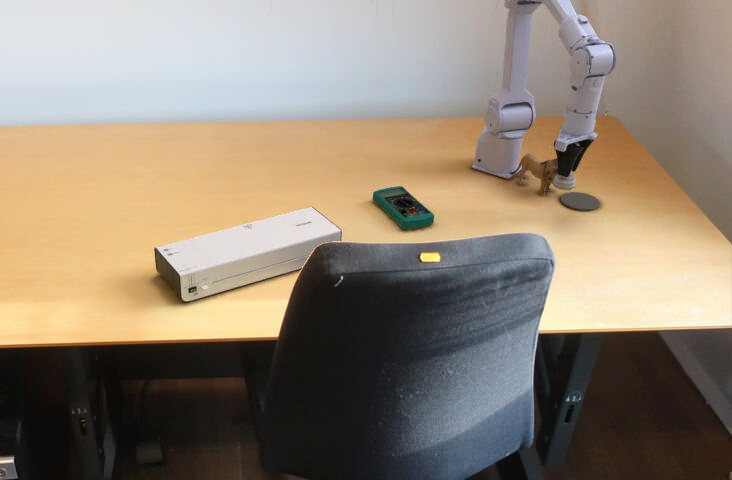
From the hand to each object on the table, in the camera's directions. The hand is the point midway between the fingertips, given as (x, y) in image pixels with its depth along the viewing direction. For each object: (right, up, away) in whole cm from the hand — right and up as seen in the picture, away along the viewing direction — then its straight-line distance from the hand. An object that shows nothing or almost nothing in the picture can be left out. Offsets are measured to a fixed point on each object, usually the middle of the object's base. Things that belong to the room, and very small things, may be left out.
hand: (566, 172), depth 175 cm
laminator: (-64, -21, -11) cm, 68 cm away
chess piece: (0, -2, +2) cm, 3 cm away
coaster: (+7, -4, +11) cm, 14 cm away
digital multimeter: (-32, -7, +7) cm, 34 cm away
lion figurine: (-1, 0, +17) cm, 17 cm away
